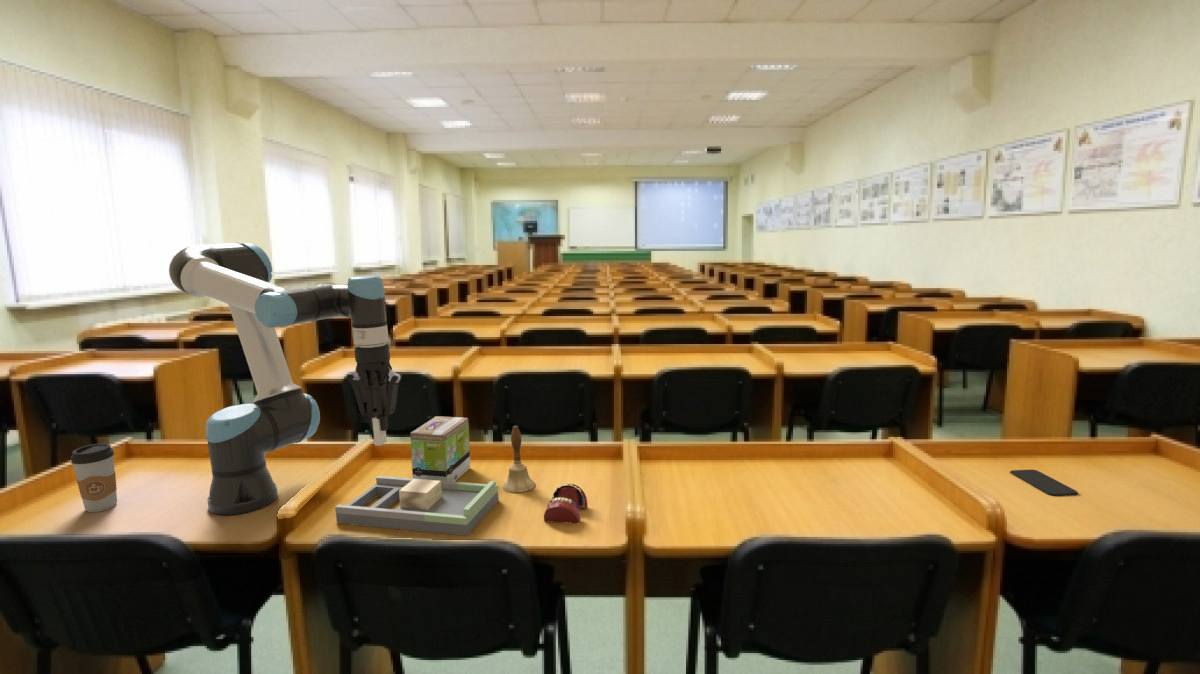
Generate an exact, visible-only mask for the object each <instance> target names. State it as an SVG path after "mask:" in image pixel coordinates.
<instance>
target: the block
mask: <svg viewBox="0 0 1200 674" xmlns="http://www.w3.org/2000/svg"><path fill="white" fill-rule="evenodd" d="M412 479H413V478H412ZM441 497H442V489H441V481H437V480H424V479H413V480H412V481H411V482H409V483H408V484H407V485H405V486H404V487H403V488H402V489H400V490H399V498H400V499H399V506H400V507H406V508H417V509H429V508H430V507H431V506H432V505H433V504H435V503H436V502H437V501H438V500H439V499H440V498H441Z"/></svg>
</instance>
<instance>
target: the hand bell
mask: <svg viewBox="0 0 1200 674" xmlns="http://www.w3.org/2000/svg"><path fill="white" fill-rule="evenodd" d="M510 441H511V446H512V448H513V464H511V465H510V466H509V467H508V476H507V479H506V480H505V482H503V485H502V489H503V491H504V492H508V493H511V494H512V493H513V494H522V493H525V492H528V491H531V490H533V489H534V488H535V487H536V482H535V481H534V480H533V479H532V478H531V477H530V475H529V472H528V467H527V465H526V464H525V463H522V458H521V446H522V434H521V431H520V429H519V426H518V425H514V426H512V430H511V435H510Z"/></svg>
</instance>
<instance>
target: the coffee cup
mask: <svg viewBox="0 0 1200 674" xmlns="http://www.w3.org/2000/svg"><path fill="white" fill-rule="evenodd" d="M71 454H72V455H71V456H70V459H71V461H70V464H72V467H73V470H74V474H75V478H76V483H77V487H78V491H79V493H80V497H81V500H82V503H83V507H84V509H85V510H86V512H88V513H97V512H98V513H99V512H103V511H107V510H110V509H112V508H114V507H115V506H116V505H117V502H118V493H117V489H118V488H117V478H116V477H117V476H116V470H115V461H114V459H115V458H114V456H115V452H114V449H113V448H112V447H111V444H110V443H93V444H89V445H84V446H81V447H77V448H76V449H74V450H73V451H71Z"/></svg>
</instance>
